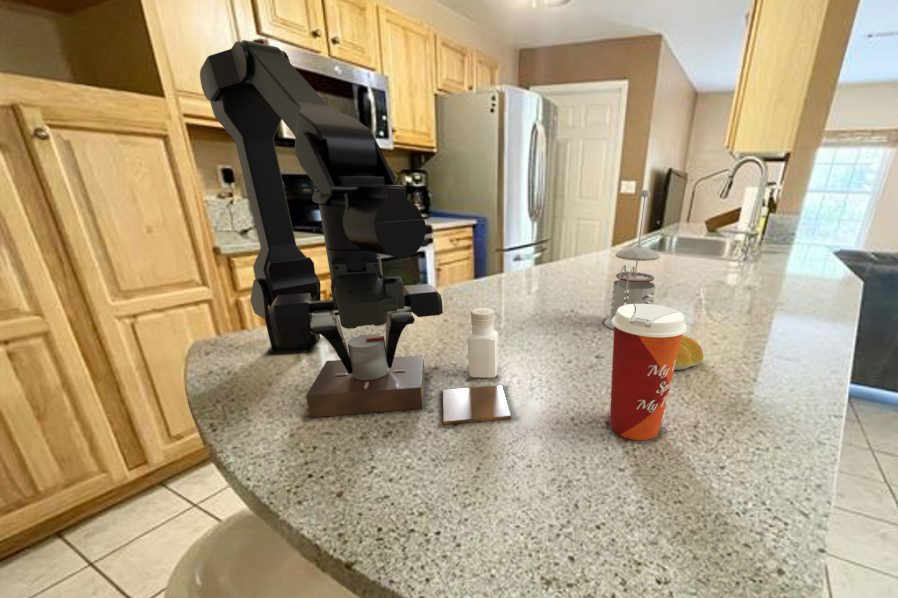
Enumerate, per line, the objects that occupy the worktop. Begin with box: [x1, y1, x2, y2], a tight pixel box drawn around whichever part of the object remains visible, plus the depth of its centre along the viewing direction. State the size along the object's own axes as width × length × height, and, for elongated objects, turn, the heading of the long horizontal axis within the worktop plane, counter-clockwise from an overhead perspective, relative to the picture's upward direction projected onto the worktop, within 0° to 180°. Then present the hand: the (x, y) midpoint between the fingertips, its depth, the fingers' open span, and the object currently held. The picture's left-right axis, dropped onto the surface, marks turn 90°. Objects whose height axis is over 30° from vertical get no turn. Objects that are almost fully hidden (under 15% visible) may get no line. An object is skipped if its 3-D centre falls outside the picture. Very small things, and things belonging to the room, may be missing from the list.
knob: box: [346, 334, 388, 380], centre depth 53 cm, size 4×4×5 cm
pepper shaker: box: [467, 307, 499, 379], centre depth 60 cm, size 4×4×10 cm
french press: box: [604, 189, 661, 330], centre depth 78 cm, size 10×12×25 cm
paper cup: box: [609, 303, 688, 441], centre depth 46 cm, size 8×8×14 cm
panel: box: [305, 354, 426, 419], centre depth 55 cm, size 13×10×3 cm
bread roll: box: [674, 335, 704, 371], centre depth 67 cm, size 8×9×4 cm
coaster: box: [442, 385, 512, 425], centre depth 53 cm, size 8×8×1 cm
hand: (370, 369), depth 54 cm, fingers closed on knob, 4 cm apart
